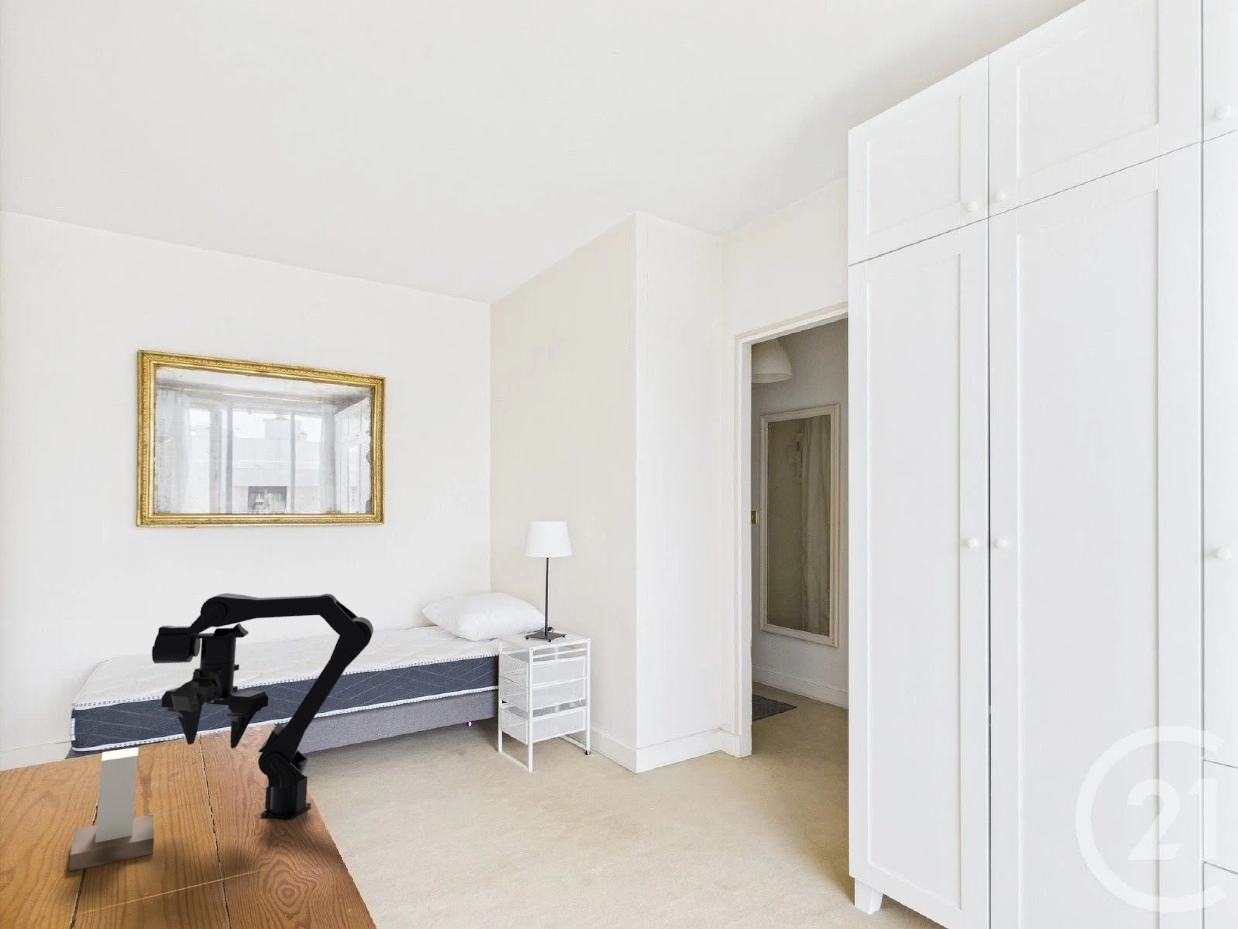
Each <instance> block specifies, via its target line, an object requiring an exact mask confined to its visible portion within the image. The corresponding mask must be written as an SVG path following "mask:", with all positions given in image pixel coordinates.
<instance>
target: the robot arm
mask: <svg viewBox="0 0 1238 929" xmlns="http://www.w3.org/2000/svg"><path fill="white" fill-rule="evenodd" d="M199 611H200V612H199V613H200V614H199V616H197V618H196V619H195V620H194V621H193V622H192V623H191V624H190V625H185V626H184V625H183V626H179V625H178V626H174V625H162V626H160V627H158V632H157V635H156V637H155V640H154V644H153V646H152V648H151V659H152V662H153V664H177V663H178V664H180V663H182V664H183V663H184V664H185V663H191V662H192V660H193V658H195V657H199V654H200V660H199V661H200V663H199V667H198V668H194V671H193V673H192V678H191V679H190V680H189V681H187V682H185V683H184V684H182V685H180V686H179V687H176V688H173V689H172V688H171V689H169V690H165V692H164V693H163V694H162V696H161V700H160V701H161V702H160V707H161V708H166V711H167V712H168V713H171V714H173V715H174V716H175V717H177V719H178V721H179V723H180V725H181V728H182V731H183V735H184V737H185V740H186V743H187V745H189V746H191V745H193V744H194V743H195V740H196V737H197V734H198V730H199V724H200V719H201V714H202V710H203V706H204V705H205V704H207V705H222V706H228V709H229V711H230V713H227V714H226V715H227V717H228V719H230V722H231V724H230V749H232V750H233V749H235V748H237V747H238V745H239V743H240V742H241V739H242V738H243V735H244V733H245V732H246V730H247V728H248V726H249V724H250V723H251V721H252V719H253V718H254V716H255V715H256V714H257V712H260V711H262V709H263V708H266V707H269V695H268V693H267V692H266V691H265V690H251V689H249V690H246V691H243V692H240V693H237V692H238V689H239V686H238V685H234V680H235V678H234V677H235V672H236V671H239V670H240V663H239V664H235V662H236V648H237V647H236V646H237V639H239V638H244V637H246V636H247V635H249V630H247V629H246V628H244V627H243V626H242V624H241V623H243V622H246V621H249V620H251V621H252V620H255V619H266V618H284V617H285V618H287V617H288V618H289V617H306V616H307V617H308V616H320V617H321V618H322V619H323V620H324V621H325V622H326V623H327V624H328V626H329V627H330V628H331V629H332V630H333V631H334V632H335V633H336V634H337V635H338V638H337V641H336V644H335V645H334V648H333V650H332V653H331V655H330V657H329V660H328V661H327V663H326V664H325V666H324V668H323V669H322V670H321V672H320V674H319V675H318V677H317V678H316V679H315V681H314V683H313V684H312V686H311V688H309V691H308V692H307V694H306V695H305V697H304V699H302V701H301V703H300V704H299V705H298V708H296V711H295V712H294V714H293V715H292V717H291V718H290V719H289V720H288V721H287V722H286V723H285V725H282V724H280V723H279V722H277V723H276V724H275V726H274V728H273V729H272V730H271V732H270V733H269V736H268V738H267V739H266V740H265V741H264V742H263V744H262V745H261V747H260V748H259V750H258V753H260V755H259V757H258V760H257V763H258V764H257V765H258V769H259V770H260V771H261V773H262V774H264V775H265V776H266V777H267V781H268V782H267V786H266V788H265V798H264V800H265V801H264V809H265V810H264V811H262V812H260V816H261V817H265V818H275V819H284V820H291V819H294V818H295V817H296V816H298V815H299V814H301V813H303V812H304V811H306V810H307V809H309V808H310V807H312V803H311V802H307V794H308V792H307V791H308V790H307V789H308V776H307V775H305V774H303V773H304V771H305V769H306V766H307V764H308V762H309V759H308V757H307V756H305V755H304V754H303V753H302V752H301V751H300V750H299V748H300V746H301V743H302V741H303V739H304V736H305V734H306V731H307V729H308V728H309V726H310V724H312V721H313V720H314V718H315V717H316V715H317V713H318V712H319V711H320V709H321V707H322V706H323V704H324V703H325V701H326V700H327V698H328V696H329V695H330V693H331V692H332V690H333V689H334V687H335V685H336V684H337V682H338V681H339V679H340V678H341V677H342V674H343V673H344V672H345V670H346V669H347V667H349V666H350V664H351V663H352V662H354V660H355V659H356V658H357V657H358V656H359V655H360V654H361V653H362V651H364V650H365V648H366V647H367V646H368V645H369V644H370V641H371V639H372V637H373V633H374V627H373V624H372V623H371V621H370V620H369V619H368V618H365V617H362V616H358V615H357V614H355V613H354V612H353V611H352V610H350V609H349V608H348V607H347V606H345V605H344V604H342V603H341V602H340V601H339V600H338V599H337V597H335V595H333V594H332V593H323V594H319V595H318V594H317V595H315V594H314V595H313V594H312V595H295V596H294V595H292V596H276V597H275V596H274V597H272V596H270V597H257V596H250V595H245V594H239V593H238V594H237V593H231V592H230V593H225V592H224V593H220V594H217V595H215V596H211V597H209V598H207V599H206V600H205V601H204V602H203V604H202V606H201V607H200V610H199ZM229 625H234V626H233V627H226V626H229ZM224 626H225V627H224ZM210 628H216V629H215V630H214V631H213V632H205V633H202V632H204V631H206V630H208V629H210ZM235 693H237V694H235Z"/></svg>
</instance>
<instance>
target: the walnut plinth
mask: <svg viewBox="0 0 1238 929" xmlns="http://www.w3.org/2000/svg"><path fill="white" fill-rule="evenodd" d="M96 825H97V824H96ZM96 825H95V824H94V825H90V826H85V827H80V828H75V829H74V833H73V839H72V844H71V849H70V854H69V865H68V872H73V871H78V870H84V869H87V868H92V867H98V866H102V865H107V864H111V863H116V862H121V861H126V860H130V859H135V858H139V857H143V856H149V855H152V854H154V846H155V843H154V842H155V841H154V840H155V833H154V831H155V830H154V814H150V815H143V816H139V817H138V816H137V817H134V820H133V834H132V836H127V837H122V838H117V839H112V840H107V841H102V842H97V843H95V838H96Z"/></svg>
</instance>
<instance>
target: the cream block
mask: <svg viewBox="0 0 1238 929" xmlns="http://www.w3.org/2000/svg"><path fill="white" fill-rule="evenodd" d="M100 761H101V762H100V773H99V774H100V775H99V789H98V800H97V802H98V803H97V812H96V813H97V814H96V815H97V816H96V838H95V843H97V842H102V841H107V840H112V839H117V838H122V837H127V836H132V834H133V820H134V818H135V806H136V805H135V804H136V789H137V778H138V777H137V776H138V762H139V747H133V748H131V747H130V748H125V749H123V748H122V749H117V750H108V751H102V756H101V760H100Z"/></svg>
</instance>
